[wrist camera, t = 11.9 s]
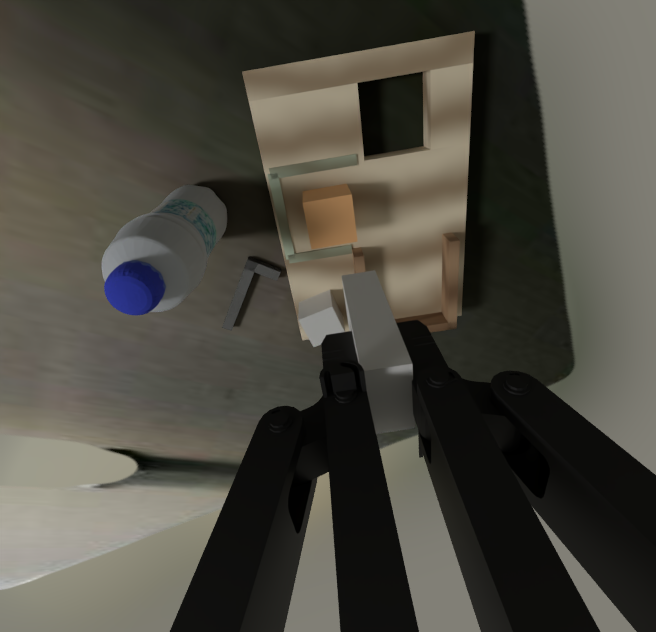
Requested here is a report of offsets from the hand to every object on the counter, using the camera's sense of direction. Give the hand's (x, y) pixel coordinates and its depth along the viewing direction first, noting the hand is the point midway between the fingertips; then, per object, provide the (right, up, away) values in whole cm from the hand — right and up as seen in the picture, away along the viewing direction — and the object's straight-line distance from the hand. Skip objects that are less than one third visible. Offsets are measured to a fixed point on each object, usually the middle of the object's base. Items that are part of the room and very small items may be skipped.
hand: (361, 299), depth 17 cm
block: (-2, 0, +28) cm, 28 cm away
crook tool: (-11, +2, +29) cm, 31 cm away
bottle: (-15, +11, +24) cm, 30 cm away
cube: (-1, +10, +22) cm, 24 cm away
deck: (+3, +11, +24) cm, 27 cm away
